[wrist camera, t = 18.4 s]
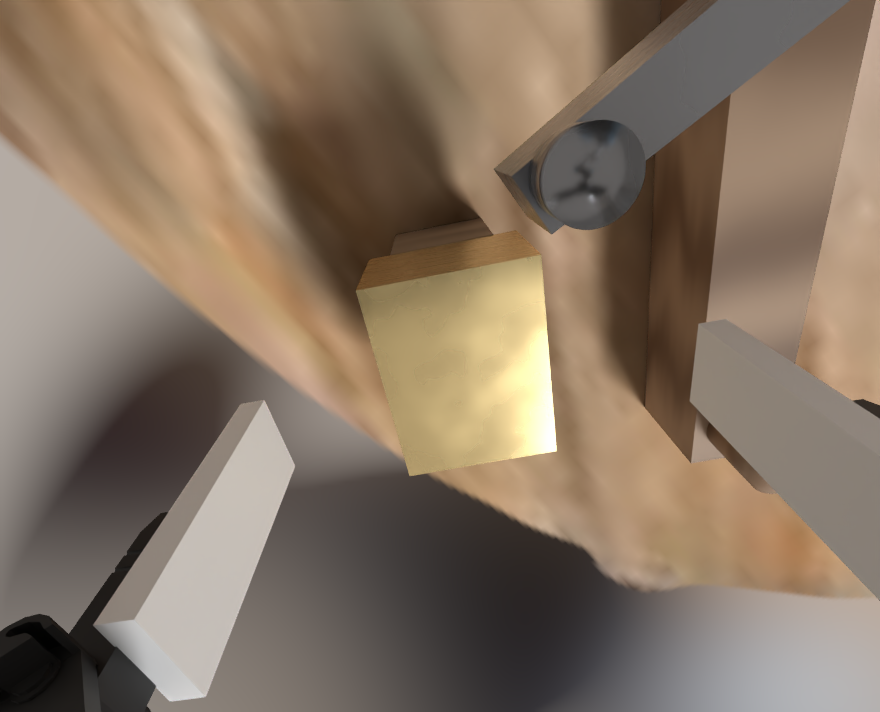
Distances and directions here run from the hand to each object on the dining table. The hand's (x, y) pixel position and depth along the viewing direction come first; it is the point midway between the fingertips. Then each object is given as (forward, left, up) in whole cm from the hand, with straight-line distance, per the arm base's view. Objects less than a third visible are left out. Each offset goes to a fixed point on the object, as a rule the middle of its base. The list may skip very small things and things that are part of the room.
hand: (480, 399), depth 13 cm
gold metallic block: (0, 0, -6) cm, 6 cm away
